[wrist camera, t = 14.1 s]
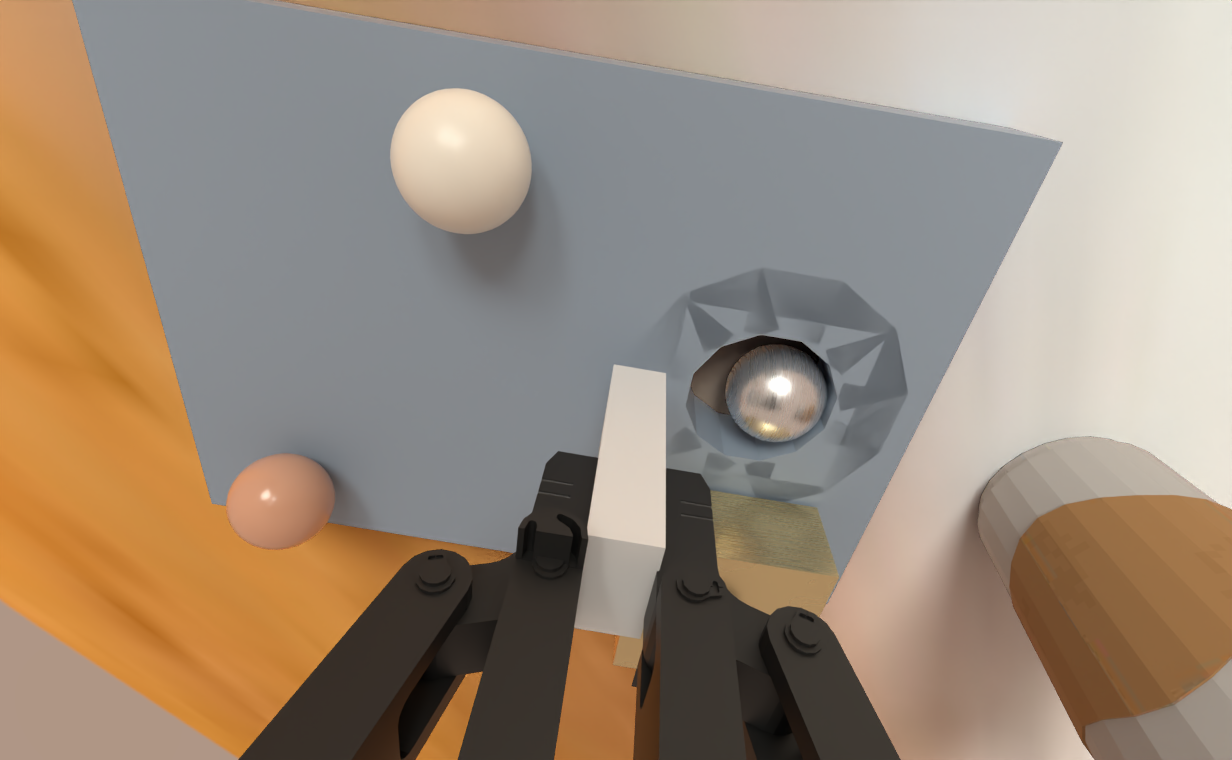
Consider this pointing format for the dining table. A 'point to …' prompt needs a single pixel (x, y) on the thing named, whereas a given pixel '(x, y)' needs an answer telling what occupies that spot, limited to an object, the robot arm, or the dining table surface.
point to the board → (534, 259)
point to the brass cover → (763, 559)
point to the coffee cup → (1120, 594)
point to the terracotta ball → (280, 501)
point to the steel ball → (776, 393)
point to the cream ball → (461, 161)
